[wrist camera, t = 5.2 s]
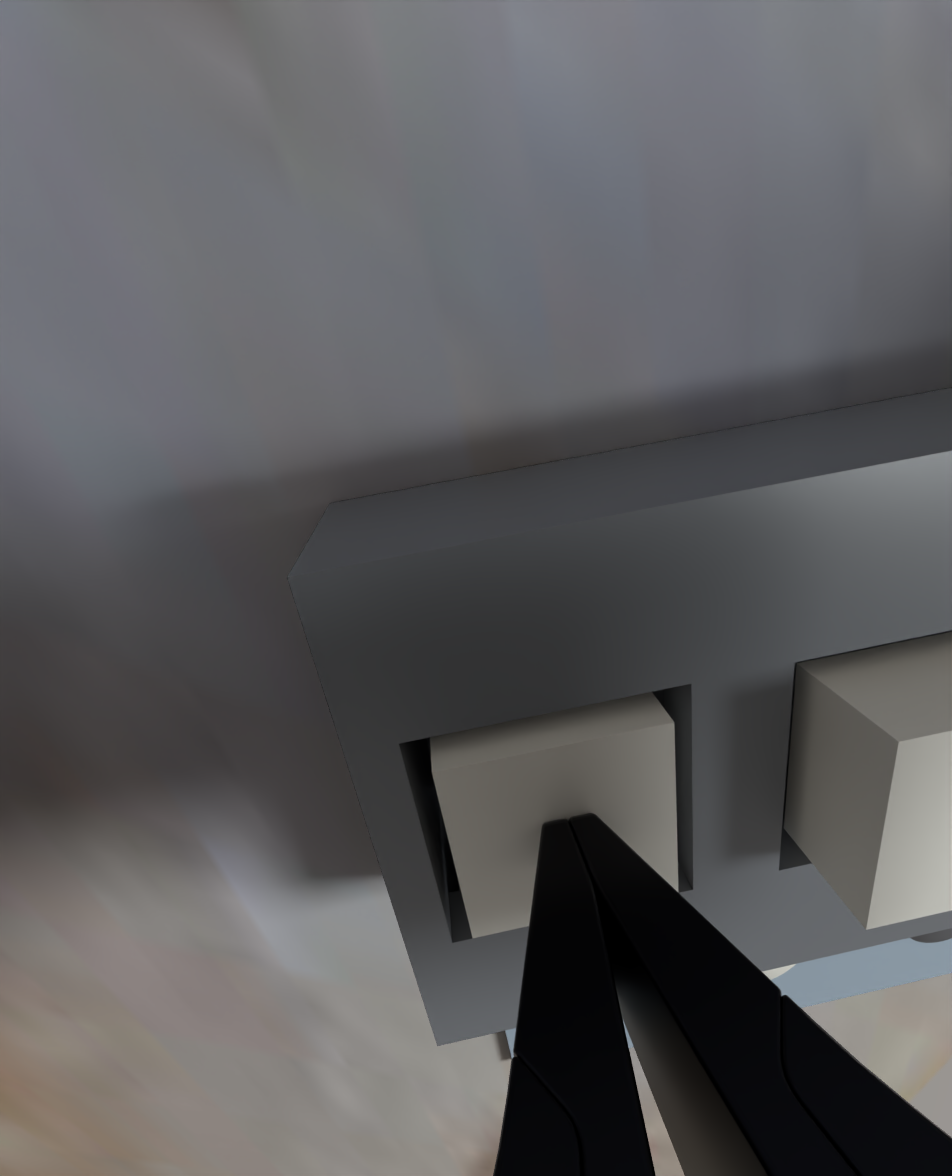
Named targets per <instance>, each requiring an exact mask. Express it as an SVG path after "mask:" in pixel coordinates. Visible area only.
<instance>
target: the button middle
mask: <svg viewBox="0 0 952 1176" xmlns="http://www.w3.org/2000/svg"><path fill="white" fill-rule="evenodd" d="M784 829H785V830H786V832H787V833H788V834H789V835H790V837H791V838H792V839H793V840H794V841H795V843H796V844H797V845H798V846H799V848H800V849H801V850H802V851H803V853H804V854H805V855H806V856H807V858H808V859H809V860H810V861H811V863H812V864H813V865H814V866H815V867H816V869H817V870H818V871H819V872H820V874H821V875H822V876H823V877H824V879H825V880H826V881H827V882H828V884H829V885H830V886H831V887H832V888H833V890H834V891H835V892H836V893H837V895H838V896H839V897H840V898H841V900H842V901H843V902H844V903H845V905H846V906H847V907H848V908H849V909H850V911H851V912H852V913H853V914H854V916H855V917H856V918H857V919H858V921H859V922H860V923H861V924H862V926H863V927H864V928H865V929H866V930H868V929H872V928H877V927H881V926H885V925H890V924H894V923H899V922H903V921H907V920H912V919H916V918H921V917H925V916H929V915H934V914H938V913H942V912H947V911H951V910H952V632H947V633H942V634H937V635H932V636H927V637H923V638H918V639H913V640H908V641H903V642H898V643H893V644H888V645H884V646H879V647H874V648H869V649H864V650H859V651H854V652H849V653H845V654H840V655H835V656H830V657H825V658H820V659H815V660H811V661H806V662H801V663H797V666H796V678H795V691H794V704H793V717H792V730H791V742H790V755H789V768H788V781H787V793H786V806H785V819H784Z"/></svg>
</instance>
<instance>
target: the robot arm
mask: <svg viewBox="0 0 952 1176" xmlns="http://www.w3.org/2000/svg"><path fill="white" fill-rule="evenodd" d="M623 1021H624V1023H625V1026H626V1028H627V1031H628V1033H629V1036H630V1038H631V1041H632V1043H633V1046H634V1048H635V1051H636V1054H637V1056H638V1059H639V1061H640V1064H641V1066H642V1069H643V1071H644V1074H645V1076H646V1079H647V1081H648V1084H649V1086H650V1089H651V1091H652V1094H653V1096H654V1099H655V1101H656V1104H657V1107H658V1109H659V1112H660V1114H661V1117H662V1119H663V1122H664V1124H665V1127H666V1129H667V1132H668V1134H669V1137H670V1139H671V1142H672V1144H673V1147H674V1149H675V1152H676V1154H677V1157H678V1160H679V1162H680V1165H681V1167H682V1170H683V1172H684V1175H685V1176H952V1138H951V1137H950V1136H949V1135H948V1134H946V1133H945V1132H944V1131H943V1130H941V1129H940V1128H939V1127H937V1126H936V1125H935V1124H934V1123H933V1122H931V1121H930V1120H929V1119H928V1118H926V1117H925V1116H924V1115H923V1114H922V1113H920V1112H919V1111H918V1110H917V1109H915V1108H914V1107H913V1106H912V1105H911V1104H909V1103H908V1102H907V1101H906V1100H905V1099H903V1098H902V1097H901V1096H900V1095H899V1094H897V1093H896V1092H895V1091H894V1090H893V1089H891V1088H890V1087H889V1086H888V1085H887V1084H885V1083H884V1082H883V1081H882V1080H881V1079H879V1078H878V1077H877V1076H876V1075H875V1074H873V1073H872V1072H871V1071H870V1070H869V1069H867V1068H866V1067H865V1066H864V1065H863V1064H861V1063H860V1062H859V1061H858V1060H857V1059H856V1058H855V1057H854V1056H852V1055H851V1054H850V1053H849V1052H848V1051H847V1050H846V1049H845V1048H844V1047H842V1046H841V1045H840V1044H839V1043H838V1042H837V1041H836V1040H835V1039H834V1038H833V1037H831V1036H830V1035H829V1034H828V1033H827V1032H826V1031H825V1030H824V1029H823V1028H821V1027H820V1026H819V1025H818V1024H817V1023H816V1022H815V1021H814V1020H813V1019H812V1018H811V1017H810V1016H809V1015H808V1014H806V1013H805V1012H804V1011H803V1010H802V1009H801V1008H800V1007H799V1006H798V1005H797V1004H796V1003H795V1002H794V1001H793V1000H792V999H791V998H790V997H789V996H787V995H783V996H782V993H781V990H780V988H779V987H778V986H777V985H776V984H774V983H773V982H772V981H771V980H770V979H769V978H768V977H767V976H766V975H765V974H764V973H763V972H762V971H761V970H760V969H759V968H758V967H757V966H755V965H754V964H753V963H752V962H751V961H750V960H749V959H748V958H747V957H746V956H745V955H744V954H743V953H742V952H741V951H740V950H739V949H737V948H736V947H735V946H734V945H733V944H732V943H731V942H730V941H729V940H728V939H727V938H726V937H725V936H724V935H723V934H722V933H721V932H720V931H718V930H717V929H716V928H715V927H714V926H713V925H712V924H711V923H710V922H709V921H708V920H707V919H706V918H705V917H704V916H703V915H702V914H700V913H699V912H698V911H697V910H696V909H695V908H694V907H693V906H692V905H691V904H690V903H689V902H688V901H687V900H686V899H685V898H684V897H683V896H681V895H680V894H679V893H678V892H677V891H676V890H675V889H674V888H673V887H672V886H671V885H670V884H669V883H668V882H667V881H666V880H665V879H664V878H662V877H661V876H660V875H659V874H658V873H657V872H656V871H655V870H654V869H653V868H652V867H651V866H650V865H649V864H648V863H647V862H646V861H644V860H643V859H642V858H641V857H640V856H639V855H638V854H637V853H636V852H635V851H634V850H633V849H632V848H631V847H630V846H629V845H628V844H627V843H625V842H624V841H623V840H622V839H621V838H620V837H619V836H618V835H617V834H616V833H615V832H614V831H613V830H612V829H611V828H610V827H609V826H607V825H606V824H605V823H604V822H603V821H602V820H601V819H600V818H599V817H598V816H597V815H596V814H594V813H586V814H582V815H577V816H572V817H571V818H570V819H569V821H568V820H567V819H558V820H553V821H549V822H545V823H544V824H543V825H542V828H541V836H540V844H539V851H538V859H537V867H536V875H535V883H534V891H533V899H532V906H531V914H530V922H529V930H528V938H527V946H526V954H525V962H524V969H523V977H522V985H521V993H520V1001H519V1009H518V1017H517V1024H516V1032H515V1040H514V1048H513V1054H514V1057H513V1058H512V1061H511V1069H510V1076H509V1084H508V1092H507V1098H506V1105H505V1111H504V1118H503V1124H502V1131H501V1137H500V1143H499V1149H498V1154H497V1159H496V1164H495V1169H494V1173H493V1176H655V1171H654V1166H653V1161H652V1156H651V1152H650V1147H649V1142H648V1137H647V1133H646V1128H645V1123H644V1118H643V1114H642V1109H641V1104H640V1099H639V1095H638V1090H637V1085H636V1080H635V1076H634V1071H633V1066H632V1061H631V1057H630V1052H629V1047H628V1042H627V1038H626V1033H625V1028H624V1023H623Z"/></svg>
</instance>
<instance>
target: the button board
mask: <svg viewBox="0 0 952 1176" xmlns="http://www.w3.org/2000/svg"><path fill="white" fill-rule="evenodd" d="M287 579H288V582H289V585H290V588H291V591H292V594H293V598H294V601H295V604H296V607H297V610H298V613H299V616H300V619H301V622H302V626H303V629H304V632H305V635H306V638H307V641H308V644H309V647H310V650H311V654H312V657H313V660H314V663H315V666H316V669H317V672H318V675H319V678H320V682H321V685H322V688H323V691H324V694H325V697H326V700H327V703H328V707H329V710H330V713H331V716H332V719H333V722H334V725H335V728H336V731H337V735H338V738H339V741H340V744H341V747H342V750H343V753H344V756H345V759H346V763H347V766H348V769H349V772H350V775H351V778H352V781H353V784H354V788H355V791H356V794H357V797H358V800H359V803H360V806H361V809H362V812H363V816H364V819H365V822H366V825H367V828H368V831H369V834H370V837H371V840H372V844H373V847H374V850H375V853H376V856H377V859H378V862H379V865H380V868H381V872H382V875H383V878H384V881H385V884H386V887H387V890H388V893H389V897H390V900H391V903H392V906H393V909H394V912H395V915H396V918H397V921H398V925H399V928H400V931H401V934H402V937H403V940H404V943H405V946H406V949H407V953H408V956H409V959H410V962H411V965H412V968H413V971H414V974H415V977H416V981H417V984H418V987H419V990H420V993H421V996H422V999H423V1002H424V1006H425V1009H426V1012H427V1015H428V1018H429V1021H430V1024H431V1027H432V1030H433V1034H434V1037H435V1040H436V1043H437V1046H440V1045H444V1044H449V1043H453V1042H457V1041H462V1040H466V1039H470V1038H475V1037H479V1036H483V1035H488V1034H492V1033H497V1032H501V1031H505V1030H510V1029H514V1028H516V1024H517V1017H518V1009H519V1001H520V993H521V985H522V977H523V969H524V962H525V954H526V946H527V938H528V930H529V926H527V927H522V928H518V929H513V930H509V931H504V932H500V933H495V934H491V935H486V936H481V937H477V938H472V934H471V930H470V925H469V921H468V917H467V913H466V909H465V905H464V901H463V897H462V893H461V889H460V885H459V881H458V877H457V873H456V869H455V865H454V861H453V856H452V852H451V848H450V844H449V840H448V836H447V832H446V828H445V824H444V820H443V816H442V812H441V808H440V804H439V800H438V796H437V791H436V787H435V783H434V779H433V775H432V766H431V747H430V737H434V736H439V735H444V734H449V733H454V732H458V731H463V730H468V729H473V728H478V727H483V726H488V725H493V724H497V723H502V722H507V721H512V720H517V719H522V718H527V717H532V716H536V715H541V714H546V713H551V712H556V711H561V710H566V709H570V708H575V707H580V706H585V705H590V704H595V703H600V702H605V701H609V700H614V699H619V698H624V697H629V696H634V695H639V694H644V693H648V692H652V693H653V694H654V696H655V697H656V698H657V700H658V701H659V702H660V704H661V705H662V706H663V708H664V709H665V710H666V712H667V713H668V714H669V716H670V717H671V718H672V720H673V721H674V728H675V769H676V810H677V852H678V893H679V894H680V895H681V896H683V897H684V898H685V899H686V900H687V901H688V902H689V903H690V904H691V905H692V906H693V907H694V908H695V909H696V910H697V911H698V912H699V913H700V914H702V915H703V916H704V917H705V918H706V919H707V920H708V921H709V922H710V923H711V924H712V925H713V926H714V927H715V928H716V929H717V930H718V931H720V932H721V933H722V934H723V935H724V936H725V937H726V938H727V939H728V940H729V941H730V942H731V943H732V944H733V945H734V946H735V947H736V948H737V949H739V950H740V951H741V952H742V953H743V954H744V955H745V956H746V957H747V958H748V959H749V960H750V961H751V962H752V963H753V964H754V965H755V966H757V967H758V968H759V969H760V970H761V971H762V972H763V971H767V970H771V969H776V968H780V967H784V966H789V965H793V964H797V963H802V962H806V961H811V960H815V959H819V958H824V957H828V956H832V955H837V954H841V953H845V952H850V951H854V950H859V949H863V948H867V947H872V946H876V945H880V944H885V943H889V942H893V941H898V940H902V939H907V938H911V937H915V936H920V935H924V934H928V933H933V932H937V931H941V930H946V929H950V928H952V910H951V911H947V912H942V913H938V914H934V915H929V916H925V917H921V918H916V919H912V920H907V921H903V922H899V923H894V924H890V925H885V926H881V927H877V928H872V929H868V930H866V929H865V928H864V927H863V926H862V924H861V923H860V922H859V921H858V919H857V918H856V917H855V916H854V914H853V913H852V912H851V911H850V909H849V908H848V907H847V906H846V905H845V903H844V902H843V901H842V900H841V898H840V897H839V896H838V895H837V893H836V892H835V891H834V890H833V888H832V887H831V886H830V885H829V884H828V882H827V881H826V880H825V879H824V877H823V876H822V875H821V874H820V872H819V871H818V870H817V869H816V867H815V866H814V865H813V864H812V863H811V861H810V860H809V859H808V858H807V856H806V855H805V854H804V853H803V851H802V850H801V849H800V848H799V846H798V845H797V844H796V843H795V841H794V840H793V839H792V838H791V837H790V835H789V834H788V833H787V832H786V830H785V829H784V819H785V806H786V793H787V781H788V768H789V755H790V742H791V730H792V717H793V704H794V691H795V678H796V666H797V663H801V662H806V661H811V660H815V659H820V658H825V657H830V656H835V655H840V654H845V653H849V652H854V651H859V650H864V649H869V648H874V647H879V646H884V645H888V644H893V643H898V642H903V641H908V640H913V639H918V638H923V637H927V636H932V635H937V634H942V633H947V632H952V388H947V389H942V390H937V391H931V392H926V393H921V394H915V395H910V396H904V397H899V398H894V399H888V400H883V401H878V402H872V403H867V404H861V405H856V406H851V407H845V408H840V409H834V410H829V411H824V412H818V413H813V414H808V415H802V416H797V417H791V418H786V419H781V420H775V421H770V422H764V423H759V424H754V425H748V426H743V427H738V428H732V429H727V430H721V431H716V432H711V433H705V434H700V435H695V436H689V437H684V438H678V439H673V440H668V441H662V442H657V443H651V444H646V445H641V446H635V447H630V448H625V449H619V450H614V451H608V452H603V453H598V454H592V455H587V456H582V457H576V458H571V459H565V460H560V461H555V462H549V463H544V464H538V465H533V466H528V467H522V468H517V469H512V470H506V471H501V472H495V473H490V474H485V475H479V476H474V477H469V478H463V479H458V480H452V481H447V482H442V483H436V484H431V485H425V486H420V487H415V488H409V489H404V490H399V491H393V492H388V493H382V494H377V495H372V496H366V497H361V498H356V499H350V500H345V501H339V502H334V503H330V504H329V506H328V508H327V509H326V511H325V513H324V514H323V516H322V518H321V520H320V521H319V523H318V525H317V527H316V528H315V530H314V532H313V534H312V535H311V537H310V539H309V540H308V542H307V544H306V546H305V547H304V549H303V551H302V553H301V554H300V556H299V558H298V559H297V561H296V563H295V565H294V566H293V568H292V570H291V572H290V573H289V575H288V577H287Z"/></svg>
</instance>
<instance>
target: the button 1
mask: <svg viewBox="0 0 952 1176" xmlns="http://www.w3.org/2000/svg"><path fill="white" fill-rule="evenodd" d="M430 747H431V766H432V775H433V779H434V783H435V787H436V791H437V796H438V800H439V804H440V808H441V812H442V816H443V820H444V824H445V828H446V832H447V836H448V840H449V844H450V848H451V852H452V856H453V861H454V865H455V869H456V873H457V877H458V881H459V885H460V889H461V893H462V897H463V901H464V905H465V909H466V913H467V917H468V921H469V925H470V930H471V934H472V938H477V937H481V936H486V935H491V934H495V933H500V932H504V931H509V930H513V929H518V928H522V927H527V926H529V922H530V914H531V906H532V899H533V891H534V883H535V875H536V867H537V859H538V851H539V844H540V836H541V828H542V825H543V824H544V823H545V822H549V821H553V820H558V819H567V820H568V821H569V819H570V818H571V817H572V816H577V815H582V814H586V813H594V814H596V815H597V816H598V817H599V818H600V819H601V820H602V821H603V822H604V823H605V824H606V825H607V826H609V827H610V828H611V829H612V830H613V831H614V832H615V833H616V834H617V835H618V836H619V837H620V838H621V839H622V840H623V841H624V842H625V843H627V844H628V845H629V846H630V847H631V848H632V849H633V850H634V851H635V852H636V853H637V854H638V855H639V856H640V857H641V858H642V859H643V860H644V861H646V862H647V863H648V864H649V865H650V866H651V867H652V868H653V869H654V870H655V871H656V872H657V873H658V874H659V875H660V876H661V877H662V878H664V879H665V880H666V881H667V882H668V883H669V884H670V885H671V886H672V887H673V888H674V889H675V890H676V891H677V892H678V852H677V810H676V769H675V728H674V721H673V720H672V718H671V717H670V716H669V714H668V713H667V712H666V710H665V709H664V708H663V706H662V705H661V704H660V702H659V701H658V700H657V698H656V697H655V696H654V694H653V693H652V692H648V693H644V694H639V695H634V696H629V697H624V698H619V699H614V700H609V701H605V702H600V703H595V704H590V705H585V706H580V707H575V708H570V709H566V710H561V711H556V712H551V713H546V714H541V715H536V716H532V717H527V718H522V719H517V720H512V721H507V722H502V723H497V724H493V725H488V726H483V727H478V728H473V729H468V730H463V731H458V732H454V733H449V734H444V735H439V736H434V737H430Z"/></svg>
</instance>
